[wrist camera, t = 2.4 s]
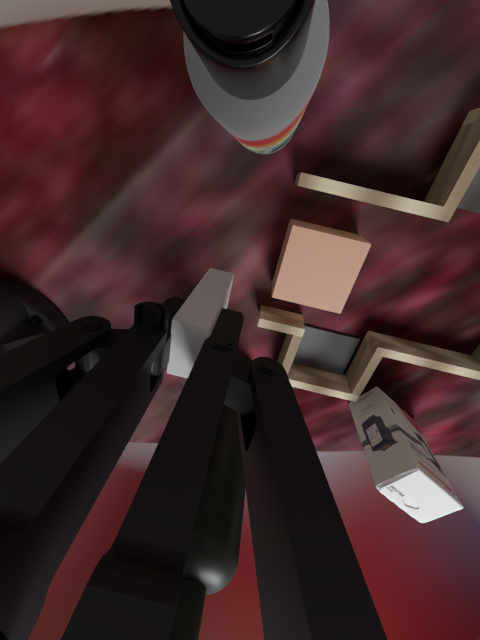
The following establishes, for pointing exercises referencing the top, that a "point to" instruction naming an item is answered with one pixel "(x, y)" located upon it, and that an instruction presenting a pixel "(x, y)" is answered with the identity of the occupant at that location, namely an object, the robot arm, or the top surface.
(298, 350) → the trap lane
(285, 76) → the lotion bottle
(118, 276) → the top surface
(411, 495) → the ink box
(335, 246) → the block
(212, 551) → the wine bottle
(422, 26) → the top surface
